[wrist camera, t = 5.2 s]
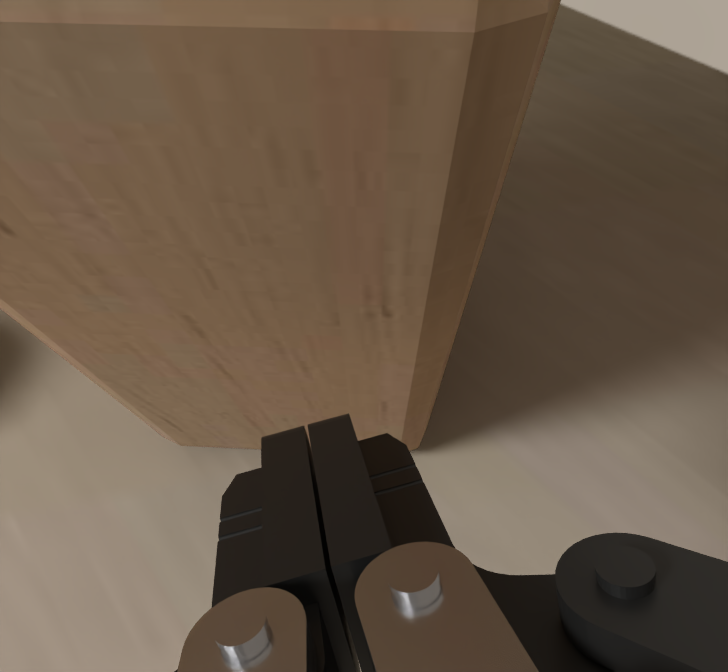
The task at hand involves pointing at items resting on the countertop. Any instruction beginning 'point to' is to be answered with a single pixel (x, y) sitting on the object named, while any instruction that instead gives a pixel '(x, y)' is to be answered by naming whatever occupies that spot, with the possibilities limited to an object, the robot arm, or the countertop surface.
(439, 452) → the countertop surface
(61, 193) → the block
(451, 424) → the countertop surface
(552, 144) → the countertop surface
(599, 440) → the countertop surface
